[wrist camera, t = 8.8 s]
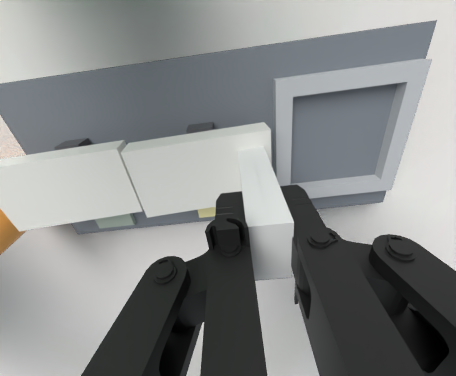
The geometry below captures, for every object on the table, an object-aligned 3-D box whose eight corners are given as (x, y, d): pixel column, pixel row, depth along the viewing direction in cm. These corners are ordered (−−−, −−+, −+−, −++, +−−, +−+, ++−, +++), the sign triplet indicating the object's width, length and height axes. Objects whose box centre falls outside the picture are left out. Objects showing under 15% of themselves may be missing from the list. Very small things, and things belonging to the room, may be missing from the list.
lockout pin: (27, 208, 21) (-53, 272, 15) (-1, 169, 18) (-108, 227, 13) (69, 203, 20) (5, 267, 14) (45, 164, 18) (-42, 219, 12)
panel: (89, 219, 21) (70, 244, 19) (9, 82, 15) (-39, 89, 12) (369, 189, 20) (392, 211, 17) (410, 24, 14) (456, 17, 11)
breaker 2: (151, 203, 15) (147, 217, 14) (128, 143, 13) (120, 152, 12) (266, 185, 15) (272, 197, 14) (264, 122, 13) (270, 129, 12)
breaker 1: (34, 216, 16) (19, 231, 14) (-9, 160, 13) (-31, 171, 12) (147, 198, 16) (142, 211, 15) (124, 139, 14) (116, 148, 12)
